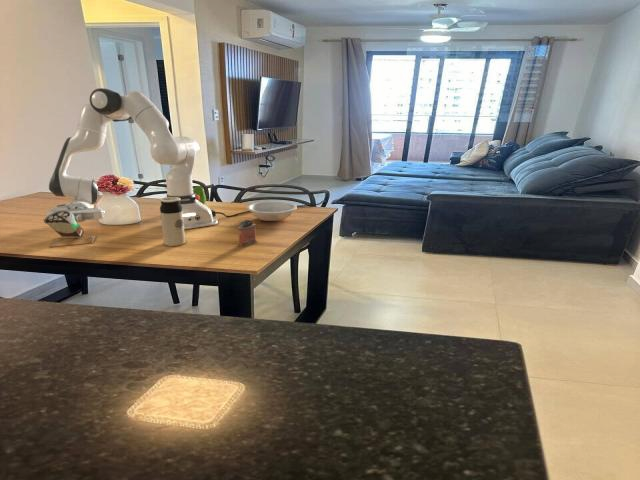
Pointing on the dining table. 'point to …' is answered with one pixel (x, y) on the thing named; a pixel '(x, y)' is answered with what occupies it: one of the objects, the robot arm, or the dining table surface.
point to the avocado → (200, 194)
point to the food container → (64, 224)
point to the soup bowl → (272, 210)
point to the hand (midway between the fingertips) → (72, 219)
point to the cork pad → (73, 241)
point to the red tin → (246, 232)
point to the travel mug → (172, 221)
